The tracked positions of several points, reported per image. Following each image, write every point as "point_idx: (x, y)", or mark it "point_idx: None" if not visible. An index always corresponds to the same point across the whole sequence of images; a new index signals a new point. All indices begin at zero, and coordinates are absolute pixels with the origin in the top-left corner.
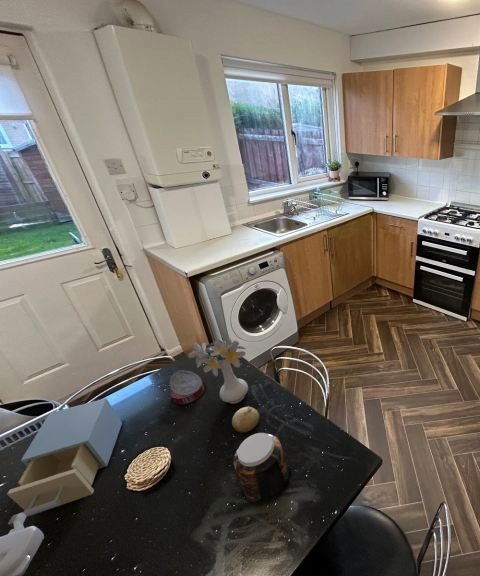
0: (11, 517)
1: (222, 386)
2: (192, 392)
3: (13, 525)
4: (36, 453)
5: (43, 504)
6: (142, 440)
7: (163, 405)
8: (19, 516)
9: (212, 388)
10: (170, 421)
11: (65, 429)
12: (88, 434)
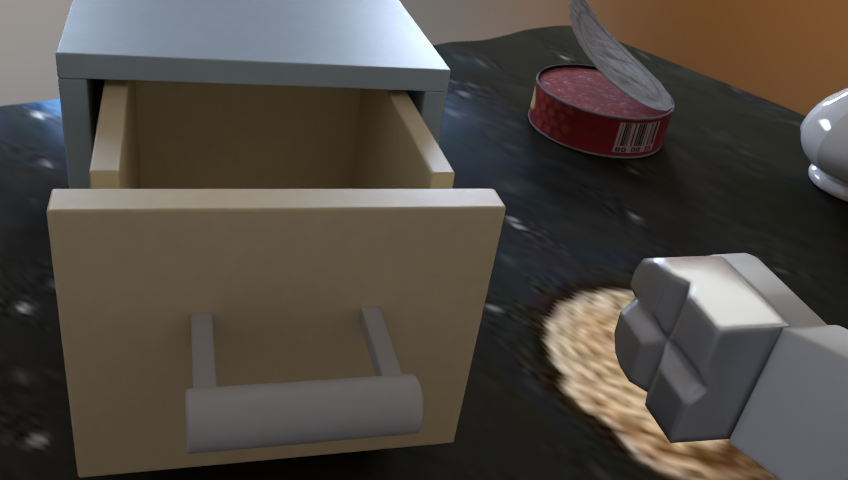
0: (668, 267)
1: (846, 101)
2: (661, 108)
3: (713, 397)
4: (144, 48)
5: (328, 382)
6: (521, 247)
7: (506, 141)
8: (778, 285)
9: (692, 135)
10: (603, 205)
11: (248, 2)
12: (424, 49)
